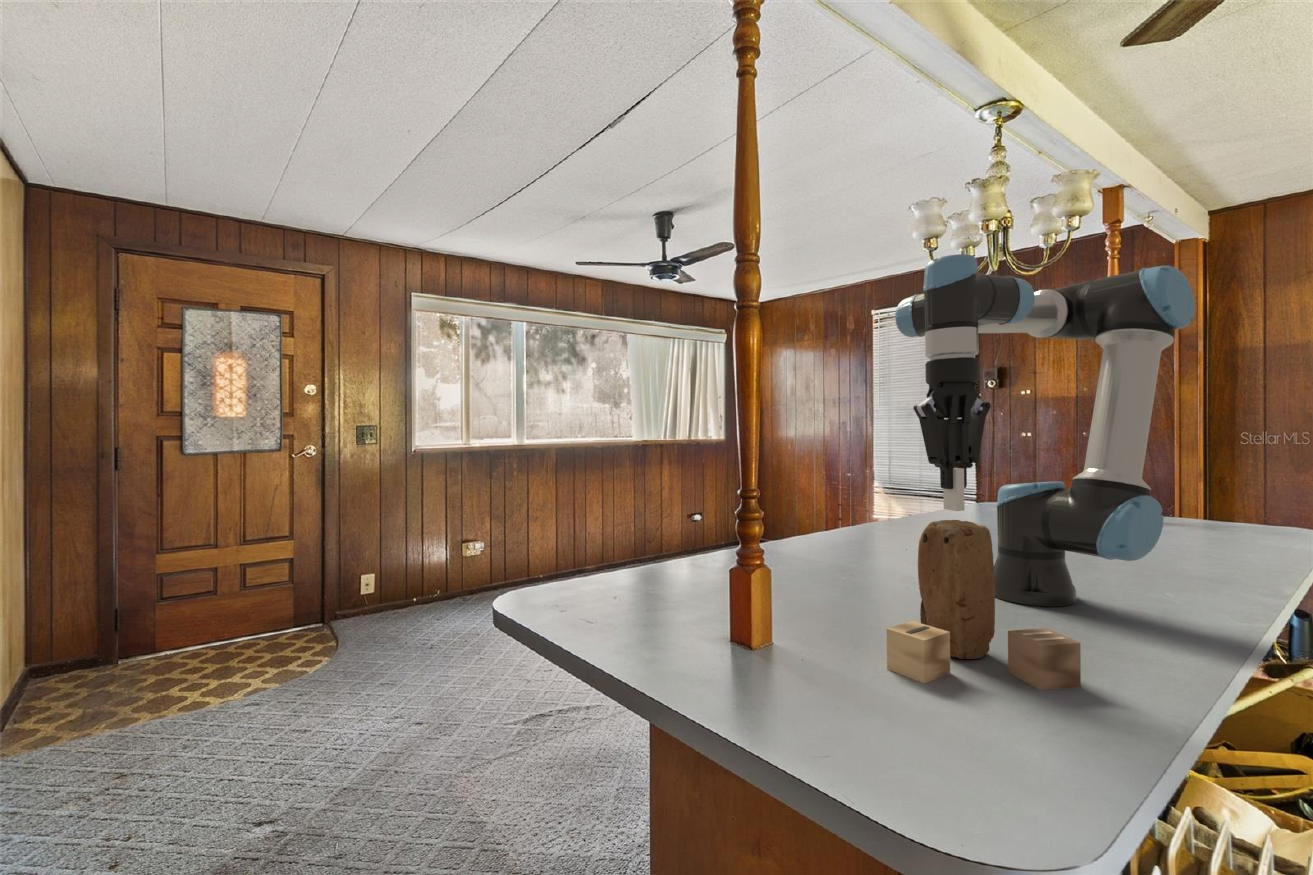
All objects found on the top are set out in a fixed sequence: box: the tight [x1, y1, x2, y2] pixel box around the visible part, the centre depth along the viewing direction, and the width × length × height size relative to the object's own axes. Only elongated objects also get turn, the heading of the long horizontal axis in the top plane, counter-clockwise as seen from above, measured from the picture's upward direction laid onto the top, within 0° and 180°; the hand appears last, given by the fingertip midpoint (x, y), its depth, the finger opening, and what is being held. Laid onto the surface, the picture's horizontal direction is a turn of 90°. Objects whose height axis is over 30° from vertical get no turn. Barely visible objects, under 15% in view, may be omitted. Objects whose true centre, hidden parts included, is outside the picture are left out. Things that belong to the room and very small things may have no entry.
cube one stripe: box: [886, 620, 951, 684], centre depth 88 cm, size 6×6×6 cm
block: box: [917, 519, 996, 660], centre depth 96 cm, size 11×8×20 cm
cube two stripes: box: [1007, 627, 1082, 691], centre depth 84 cm, size 6×6×6 cm
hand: (954, 509), depth 96 cm, fingers closed
